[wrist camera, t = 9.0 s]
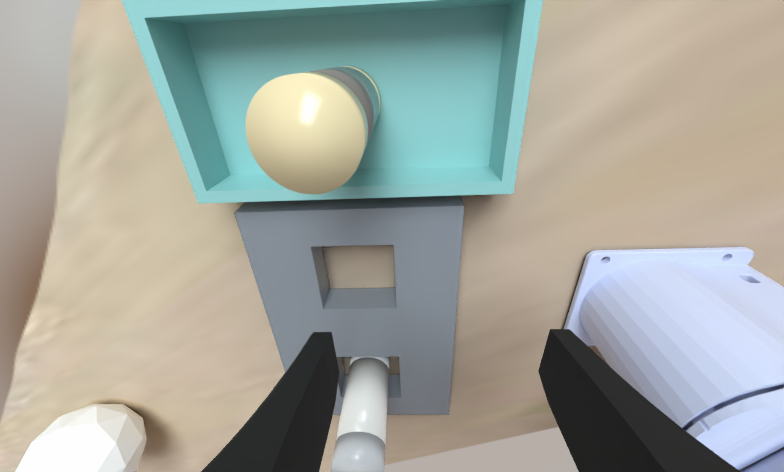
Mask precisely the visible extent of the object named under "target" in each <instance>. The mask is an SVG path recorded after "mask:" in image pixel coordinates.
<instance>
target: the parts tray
mask: <svg viewBox="0 0 784 472" xmlns="http://www.w3.org/2000/svg"><path fill="white" fill-rule="evenodd" d="M122 2H123V5H124V8H125V10H126V13H127V16H128V18H129V21H130V24H131V26H132V29H133V32H134V34H135V37H136V40H137V42H138V45H139V48H140V50H141V53H142V55H143V58H144V61H145V63H146V66H147V69H148V71H149V74H150V77H151V79H152V82H153V85H154V87H155V90H156V93H157V95H158V98H159V100H160V103H161V106H162V108H163V111H164V114H165V116H166V119H167V122H168V124H169V127H170V130H171V132H172V135H173V138H174V140H175V143H176V146H177V148H178V151H179V153H180V156H181V159H182V161H183V164H184V167H185V169H186V172H187V175H188V177H189V180H190V183H191V185H192V188H193V191H194V193H195V196H196V198H197V201H198V203H229V202H261V201H294V200H326V199H358V198H391V197H423V196H455V195H488V194H513V192H514V185H515V179H516V173H517V166H518V160H519V153H520V147H521V140H522V134H523V127H524V121H525V114H526V108H527V101H528V95H529V88H530V82H531V76H532V69H533V63H534V56H535V50H536V43H537V37H538V30H539V24H540V17H541V11H542V4H543V0H122ZM340 66H355V67H358V68H360V69H362V70H364V71H366V72H367V73H368V74H369V75H370V76H371V77H372V78H373V79H374V80H375V82H376V84H377V86H378V88H379V91H380V94H381V110H380V113H379V116H378V118H377V121H376V123H375V126H374V128H373V131H372V133H371V136H370V138H369V141H368V143H367V145H366V148H365V150H364V153H363V155H362V158H361V160H360V163H359V165H358V167H357V169H356V171H355V173H354V174H353V175H352V177H351V178H350V179H349V180H348V181H347V182H346V183H345V184H343V185H342V186H341V187H339V188H337V189H335V190H333V191H330V192H327V193H323V194H303V193H298V192H294V191H292V190H289V189H287V188H285V187H283V186H281V185H279V184H278V183H276V182H275V181H273V180H272V179H271V178H270V177H269V176H268V175H267V174H266V173H265V172H264V171H263V170H262V169H261V168H260V166H259V165H258V164H257V162H256V160H255V159H254V157H253V155H252V153H251V151H250V148H249V145H248V142H247V137H246V128H245V125H246V115H247V110H248V108H249V105H250V102H251V100H252V99H253V97H254V95H255V94H256V93H257V91H258V90H259V89H260V88H261V87H262V86H263V85H265V84H266V83H268V82H269V81H271V80H273V79H275V78H277V77H280V76H284V75H289V74H296V73H302V72H308V71H315V70H321V69H327V68H334V67H340Z"/></svg>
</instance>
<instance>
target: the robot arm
mask: <svg viewBox="0 0 784 472" xmlns="http://www.w3.org/2000/svg"><path fill="white" fill-rule="evenodd" d="M753 255H754V252H753V251H752V250H750V249H748V248H747V247H722V248H678V249H633V250H595V251H592V252H590V253H589V254H587V256H586V258H585V261H584V265H583V268H582V271H581V274H580V278H579V281H578V284H577V287H576V291H575V294H574V297H573V300H572V303H571V307H570V310H569V313H568V316H567V320H566V323H565V326H564V329H550V332H549V335H548V339H547V342H546V346H545V350H544V353H543V357H542V360H541V364H540V368H539V374H540V378H541V381H542V384H543V388H544V391H545V394H546V397H547V400H548V403H549V405H550V408H551V410H552V412H553V415H554V417H555V419H556V421H557V424H558V426H559V428H560V430H561V433H562V435H563V437H564V439H565V442H566V444H567V446H568V448H569V451H570V453H571V455H572V457H573V460H574V462H575V464H576V466H577V469H578V471H579V472H784V287H783V286H781V285H780V284H778V283H776V282H775V281H773V280H771V279H770V278H768V277H766V276H765V275H763V274H761V273H760V272H758V271H756V270H755V269H753V268H752V267H750V266H748V264H749V262H750V261H751V259H752V258H753ZM604 257H606V258H605V259H604V260H602V258H604ZM588 346H596V347H597V349H598V350H599V352H600V353H601V355H602V356H603V357H604V359H605V360H606V362H607V363H608V364H606V363H605V362H604V361H603V360H602V359H601V358H600V357H599V356H598V355H597V354H596V353H595V352H593V351H592V350H591V349H590V348H589V347H588ZM338 379H339V367H338V362H337V357H336V352H335V347H334V342H333V336H332V332H313V333H312V334H311V336H310V337H309V339H308V340H307V342H306V343H305V345H304V346H303V348H302V349H301V351H300V352H299V354H298V355H297V357H296V358H295V360H294V361H293V363H292V364H291V365H290V367H289V368H288V370H287V371H286V372H285V374H284V375H283V377H282V378H281V379H280V381H279V382H278V383H277V385H276V386H275V387H274V389H273V390H272V391H271V393H270V394H269V395H268V397H267V398H266V399H265V400H264V402H263V403H262V404H261V405H260V407H259V408H258V409H257V410H256V412H255V413H254V414H253V415H252V417H251V418H250V419H249V420H248V421H247V422H246V424H245V425H244V426H243V427H242V428H241V429H240V431H239V432H238V433H237V434H236V435H235V436H234V437H233V439H232V440H231V441H230V442H229V443H228V444H227V445H226V446H225V447H224V448H223V450H222V451H221V452H220V453H219V454H218V455H217V456H216V457H215V458H214V459H213V460H212V461H211V462H210V463H209V464H208V465H207V466H206V467H205V468H204V469H203V470H202V471H201V472H319V469H320V465H321V461H322V457H323V453H324V448H325V444H326V440H327V436H328V432H329V428H330V424H331V419H332V415H333V411H334V407H335V402H336V395H337V387H338Z"/></svg>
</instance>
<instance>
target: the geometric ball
mask: <svg viewBox="0 0 784 472" xmlns="http://www.w3.org/2000/svg"><path fill="white" fill-rule="evenodd" d="M146 441H147V437H146V432H145V427H144V422H143V418H142V417H141V416H139V415H138V414H137V413H135V412H134V411H133V410H131V409H130V408H128V407H127V406H126V405H124V404H92V405H89V406H86V407H83V408H81V409H78V410H75V411H73V412H70V413H67V414H64V415H62V416H60V417H59V418H58V419H57V420H56V421H54V422H53V423H52V424H51V425H50V426H49V427H48V428H47V429H46V430H45V431H44V432H43V433H41V434H40V435H39V436H38V437H37V438H36V439H35V440H34V441H33V442H32V443H31V444H30V446H29V448H28V450H27V451H26V453H25V455H24V457H23V459H22V461H21V462H20V464H19V466H18V468H17V470H16V471H15V472H135V471H136V470H137V469H138V467H139V464H140V460H141V457H142V454H143V451H144V448H145V445H146Z"/></svg>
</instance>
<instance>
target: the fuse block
mask: <svg viewBox="0 0 784 472" xmlns="http://www.w3.org/2000/svg"><path fill="white" fill-rule="evenodd" d="M234 214H235V217H236V220H237V223H238V226H239V229H240V233H241V236H242V239H243V242H244V245H245V248H246V251H247V254H248V257H249V261H250V264H251V267H252V270H253V273H254V276H255V279H256V282H257V285H258V288H259V292H260V295H261V298H262V301H263V304H264V307H265V310H266V313H267V316H268V320H269V323H270V326H271V329H272V332H273V335H274V338H275V341H276V344H277V347H278V351H279V354H280V357H281V360H282V363H283V366H284V369H285V372H286V371H287V370H288V368H289V367H290V365H291V364H292V363H293V361H294V360H295V358H296V357H297V355H298V354H299V352H300V351H301V349H302V348H303V346H304V345H305V343H306V342H307V340H308V339H309V337H310V336H311V334H312V333H313V332H332V336H333V342H334V347H335V352H336V357H337V362H338V367H339V379H338V387H337V395H336V402H335V407H334V411H333V415H341V410H342V405H343V399H344V394H345V388H346V383H347V377H348V375H345V371H344V365H343V360H342V357H397V356H399V366H400V375H389V385H388V404H387V415H449V405H450V392H451V378H452V365H453V352H454V338H455V325H456V311H457V298H458V284H459V271H460V258H461V244H462V231H463V217H464V204H463V201H462V199H461V197H460V195H455V196H423V197H391V198H358V199H326V200H294V201H261V202H245V203H244V204H243V205H242V206H241V207H240V208H239V209H238V210H236V211H235V212H234ZM360 245H394V265H395V285H396V288H349V289H330V288H329V282H328V277H327V271H326V266H325V260H324V255H323V249H322V246H360Z"/></svg>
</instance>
